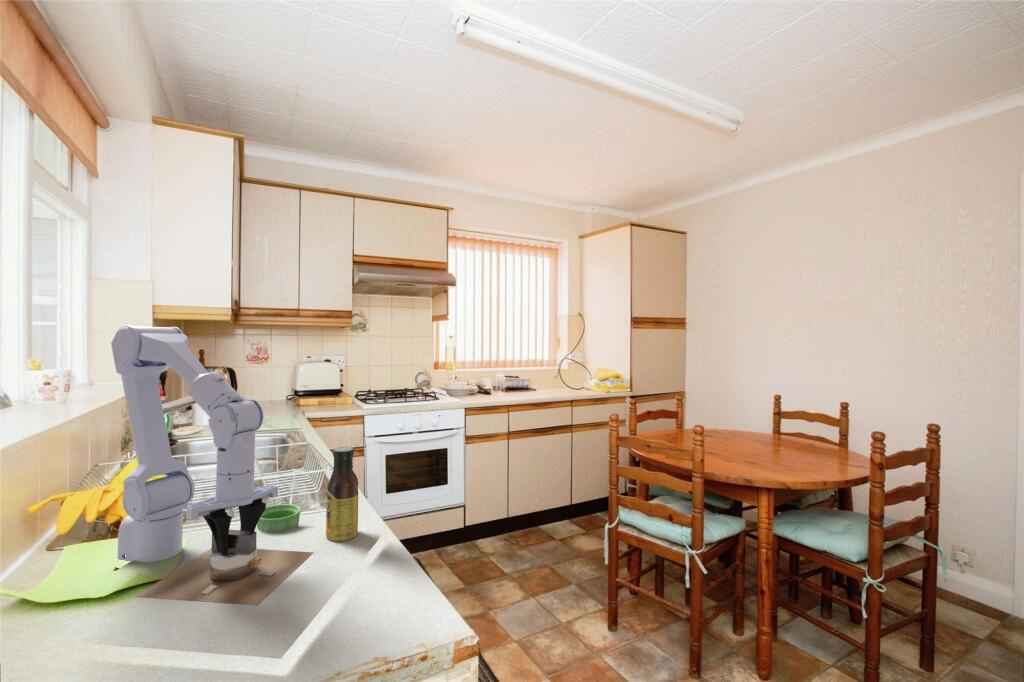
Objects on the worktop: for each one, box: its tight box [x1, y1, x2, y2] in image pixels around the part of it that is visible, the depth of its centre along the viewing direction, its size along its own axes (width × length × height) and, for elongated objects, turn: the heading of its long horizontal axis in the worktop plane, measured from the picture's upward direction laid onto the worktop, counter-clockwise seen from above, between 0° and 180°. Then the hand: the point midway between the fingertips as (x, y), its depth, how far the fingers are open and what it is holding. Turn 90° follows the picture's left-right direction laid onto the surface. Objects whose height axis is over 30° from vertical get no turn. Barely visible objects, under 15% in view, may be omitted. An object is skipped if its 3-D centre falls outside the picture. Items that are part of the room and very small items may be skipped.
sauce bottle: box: [325, 445, 359, 543], centre depth 100 cm, size 7×6×20 cm
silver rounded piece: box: [210, 529, 261, 581], centre depth 83 cm, size 8×7×7 cm
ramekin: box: [256, 503, 302, 533], centre depth 105 cm, size 9×9×4 cm
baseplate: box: [135, 547, 315, 606], centre depth 84 cm, size 20×18×2 cm
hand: (234, 548), depth 83 cm, fingers closed on silver rounded piece, 3 cm apart
